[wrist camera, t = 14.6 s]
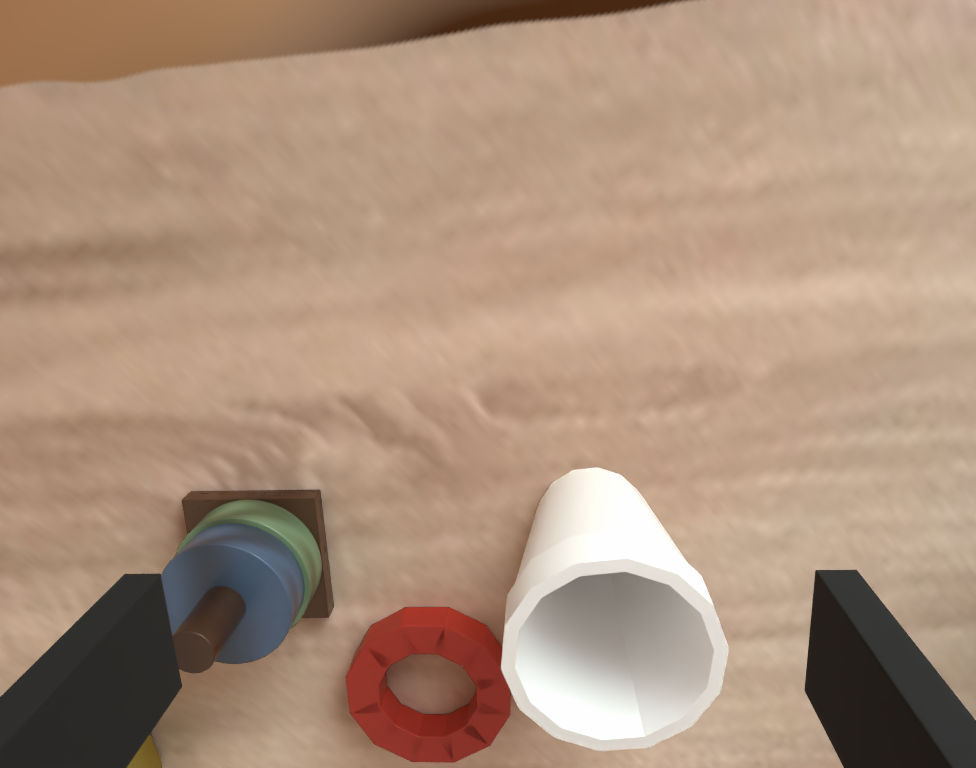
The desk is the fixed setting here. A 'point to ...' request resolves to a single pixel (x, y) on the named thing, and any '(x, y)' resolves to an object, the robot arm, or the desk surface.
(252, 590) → the stacking post
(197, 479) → the desk surface
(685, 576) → the foam cup
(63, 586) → the desk surface
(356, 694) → the ring
